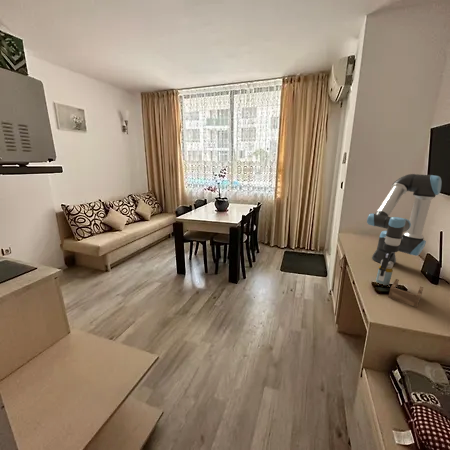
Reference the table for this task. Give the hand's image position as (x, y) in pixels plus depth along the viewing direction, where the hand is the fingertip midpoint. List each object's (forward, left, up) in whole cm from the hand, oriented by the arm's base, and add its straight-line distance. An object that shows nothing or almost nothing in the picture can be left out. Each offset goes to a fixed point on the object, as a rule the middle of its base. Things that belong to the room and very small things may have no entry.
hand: (383, 277), depth 148 cm
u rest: (+7, +13, -5) cm, 15 cm away
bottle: (0, 0, -5) cm, 5 cm away
